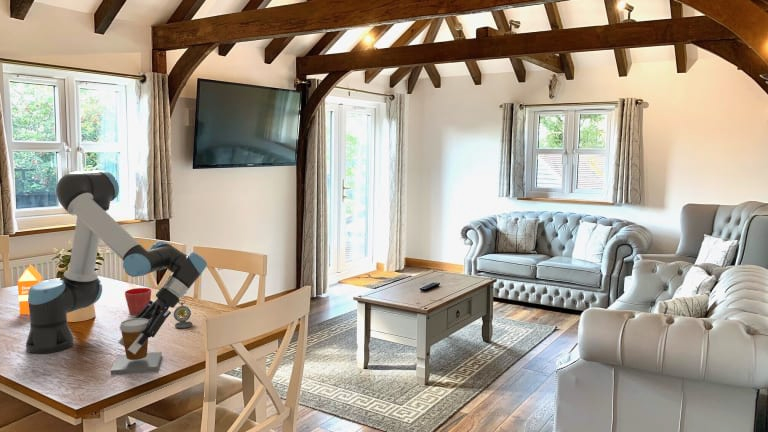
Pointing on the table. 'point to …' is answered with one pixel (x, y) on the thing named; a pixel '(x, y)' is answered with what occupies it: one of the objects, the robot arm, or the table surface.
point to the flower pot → (137, 299)
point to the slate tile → (136, 364)
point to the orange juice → (27, 287)
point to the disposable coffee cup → (134, 336)
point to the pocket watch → (181, 311)
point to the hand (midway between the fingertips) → (126, 348)
